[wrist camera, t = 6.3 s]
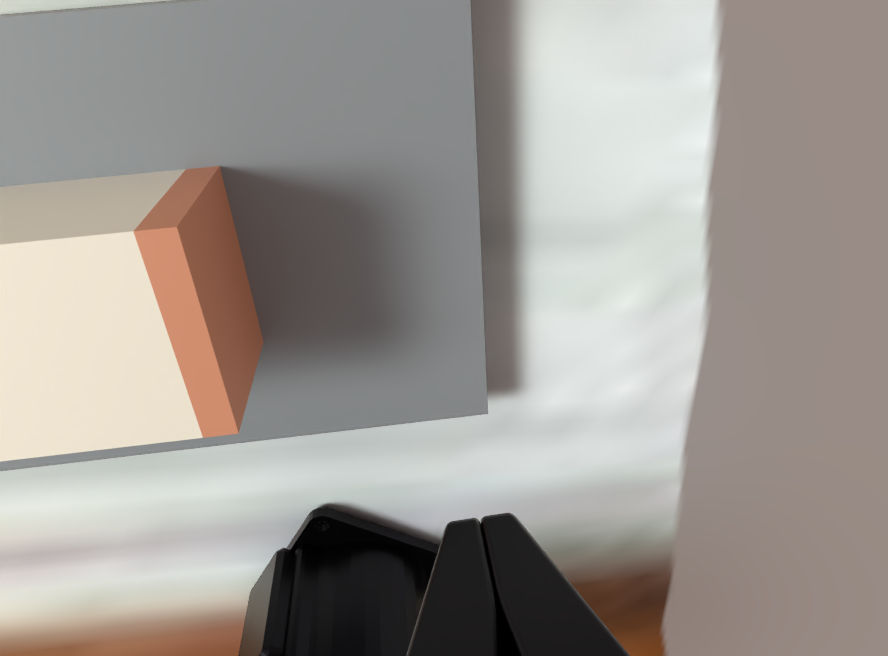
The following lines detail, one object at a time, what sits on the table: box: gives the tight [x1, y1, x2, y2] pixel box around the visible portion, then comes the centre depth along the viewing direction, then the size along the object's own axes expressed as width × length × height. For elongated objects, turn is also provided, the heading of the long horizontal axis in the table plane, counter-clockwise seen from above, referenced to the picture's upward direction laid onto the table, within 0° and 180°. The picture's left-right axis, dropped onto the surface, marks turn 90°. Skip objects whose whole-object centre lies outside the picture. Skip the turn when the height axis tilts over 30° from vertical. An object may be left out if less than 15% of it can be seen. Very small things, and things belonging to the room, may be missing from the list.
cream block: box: [0, 166, 264, 462], centre depth 15 cm, size 4×5×9 cm
